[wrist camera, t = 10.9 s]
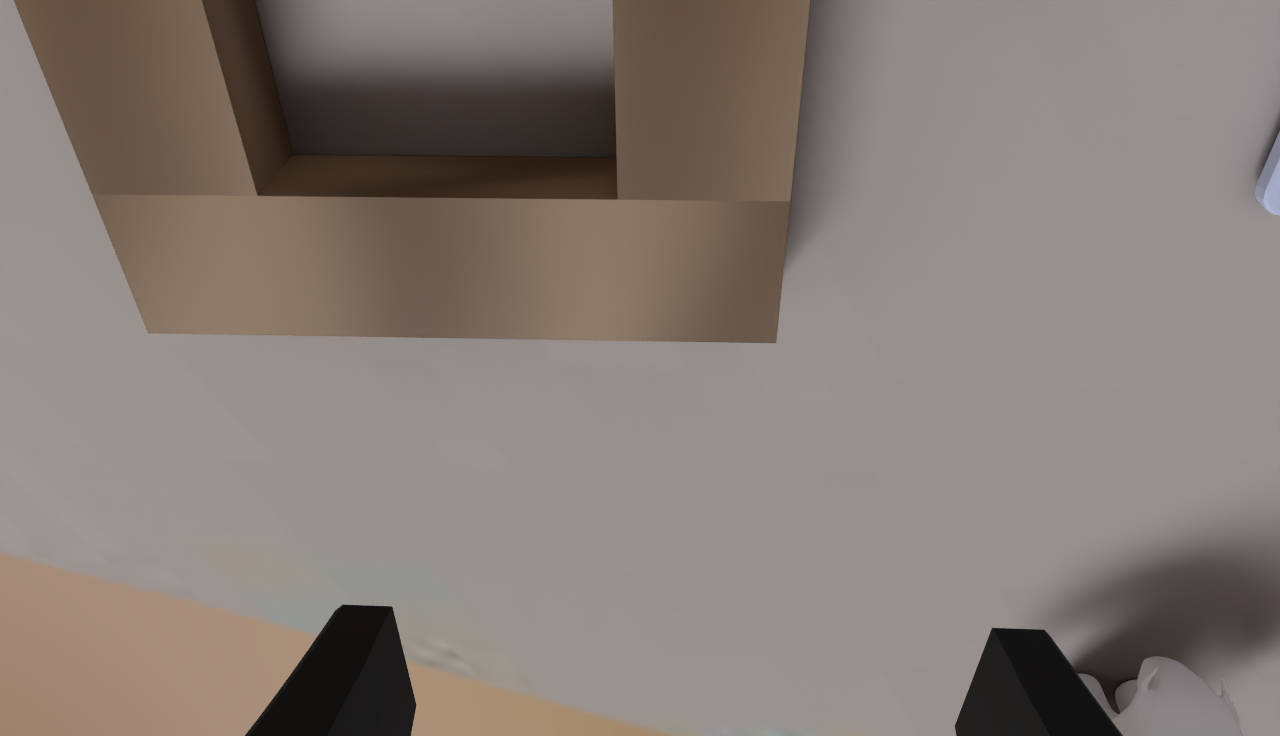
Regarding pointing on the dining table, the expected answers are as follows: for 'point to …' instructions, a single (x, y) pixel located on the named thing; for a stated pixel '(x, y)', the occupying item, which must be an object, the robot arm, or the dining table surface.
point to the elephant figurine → (1168, 703)
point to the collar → (436, 186)
